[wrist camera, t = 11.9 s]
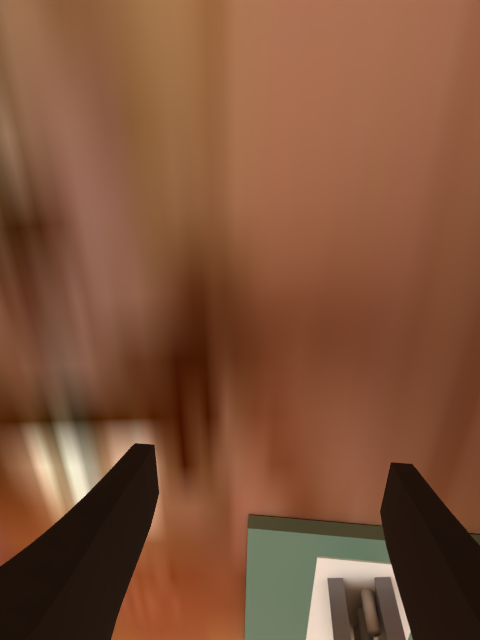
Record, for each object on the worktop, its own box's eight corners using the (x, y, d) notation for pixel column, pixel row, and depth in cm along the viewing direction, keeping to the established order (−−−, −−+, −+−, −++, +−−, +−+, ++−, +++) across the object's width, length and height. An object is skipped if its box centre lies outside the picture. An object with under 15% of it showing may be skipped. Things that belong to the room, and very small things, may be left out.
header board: (506, 537, 25) (538, 595, 22) (453, 662, 31) (473, 722, 28) (249, 514, 27) (244, 566, 23) (245, 639, 32) (241, 694, 29)
